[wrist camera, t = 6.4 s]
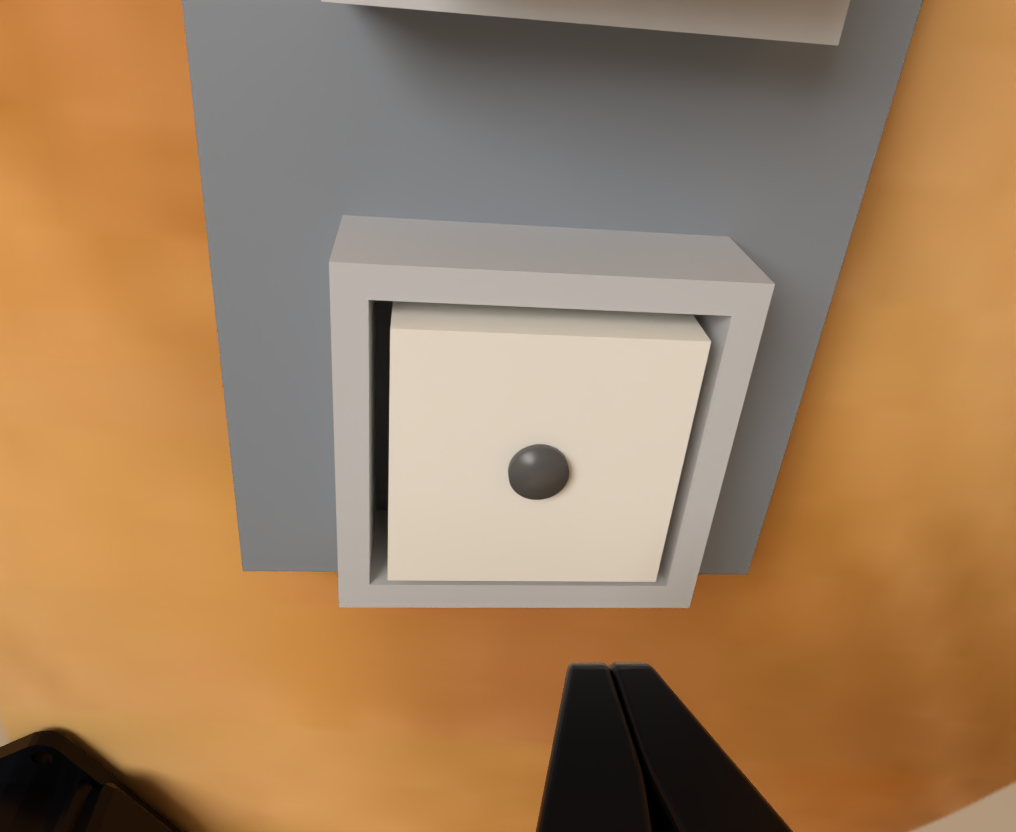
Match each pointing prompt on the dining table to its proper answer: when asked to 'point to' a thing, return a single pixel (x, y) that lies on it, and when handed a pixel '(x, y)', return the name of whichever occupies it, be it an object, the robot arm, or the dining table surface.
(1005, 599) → the dining table surface
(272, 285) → the button panel
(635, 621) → the dining table surface
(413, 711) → the dining table surface
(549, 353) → the button one
